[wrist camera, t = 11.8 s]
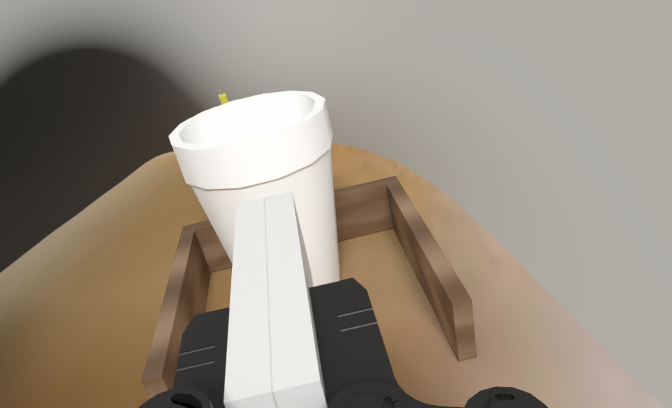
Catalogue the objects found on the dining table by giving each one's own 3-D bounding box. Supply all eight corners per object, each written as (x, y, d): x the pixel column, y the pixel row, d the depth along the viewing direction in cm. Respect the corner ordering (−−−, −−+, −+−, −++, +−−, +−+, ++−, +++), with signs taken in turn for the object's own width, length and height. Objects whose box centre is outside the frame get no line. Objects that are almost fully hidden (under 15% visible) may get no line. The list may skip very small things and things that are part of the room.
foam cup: (389, 273, 36) (357, 94, 30) (296, 357, 30) (234, 159, 24) (297, 241, 42) (255, 88, 36) (206, 306, 37) (140, 138, 31)
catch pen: (476, 356, 28) (471, 299, 26) (169, 434, 27) (141, 381, 25) (402, 219, 42) (395, 175, 40) (199, 268, 41) (183, 226, 40)
